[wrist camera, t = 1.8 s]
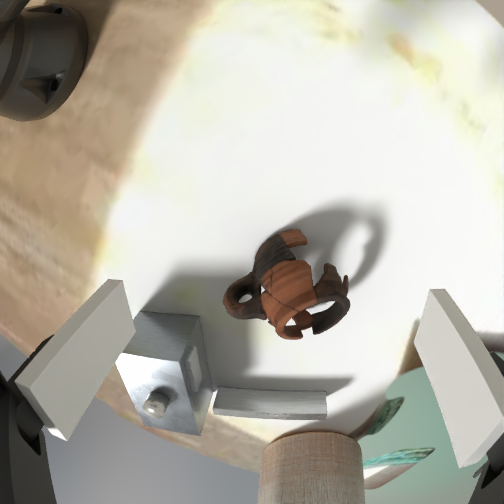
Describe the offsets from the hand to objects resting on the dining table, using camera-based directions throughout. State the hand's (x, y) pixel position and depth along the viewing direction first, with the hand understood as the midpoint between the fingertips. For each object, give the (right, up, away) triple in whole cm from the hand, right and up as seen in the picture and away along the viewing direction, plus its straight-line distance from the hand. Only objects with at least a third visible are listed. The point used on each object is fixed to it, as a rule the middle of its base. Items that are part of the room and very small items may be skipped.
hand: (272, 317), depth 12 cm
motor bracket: (-3, -12, +26) cm, 28 cm away
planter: (+10, -33, +34) cm, 49 cm away
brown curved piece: (+3, 0, +20) cm, 20 cm away
